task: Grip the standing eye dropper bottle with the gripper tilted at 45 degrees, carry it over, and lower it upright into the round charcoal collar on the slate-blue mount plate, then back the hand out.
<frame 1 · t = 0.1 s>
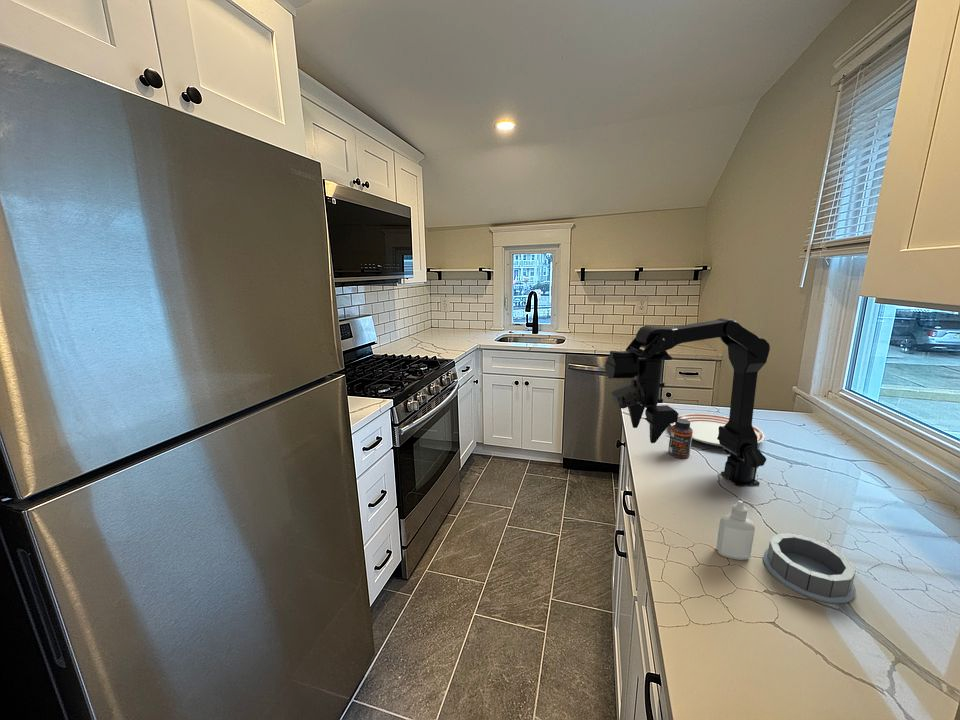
hand: (643, 434, 96), 15 cm above the worktop, tool pointing down, fingers open, 9 cm apart
dinner plate: (713, 436, 128), on the worktop
eye dropper bottle: (732, 554, 75), on the worktop
lens mount collar: (806, 573, 70), on the worktop
supplement bottle: (678, 455, 115), on the worktop
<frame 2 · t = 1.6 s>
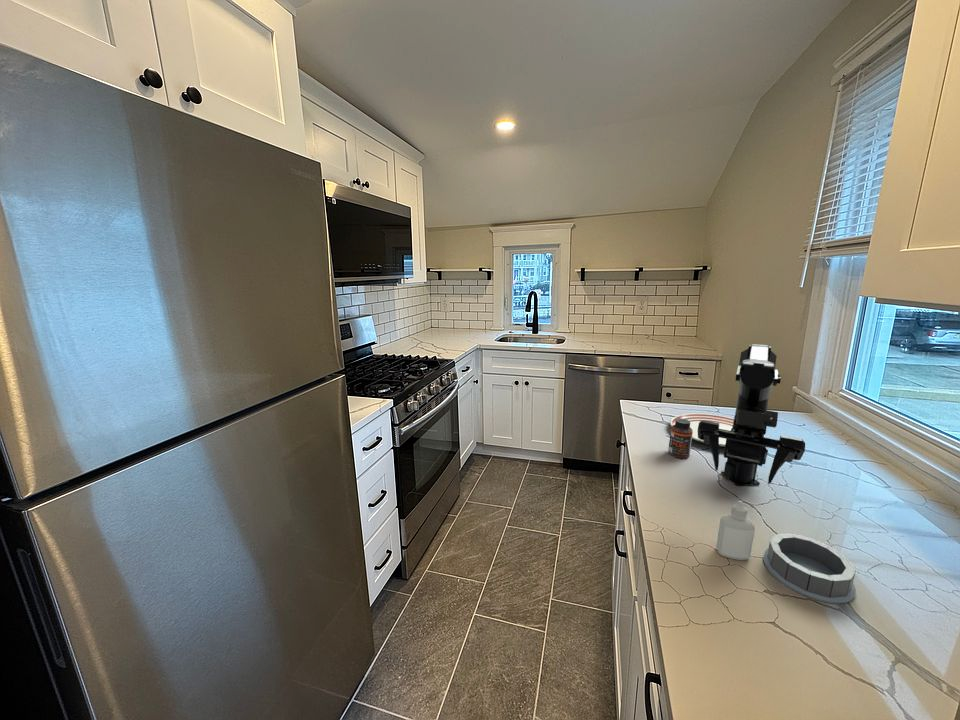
hand: (742, 476, 78), 13 cm above the worktop, tool tilted 45°, fingers open, 9 cm apart
nothing on the worktop moved.
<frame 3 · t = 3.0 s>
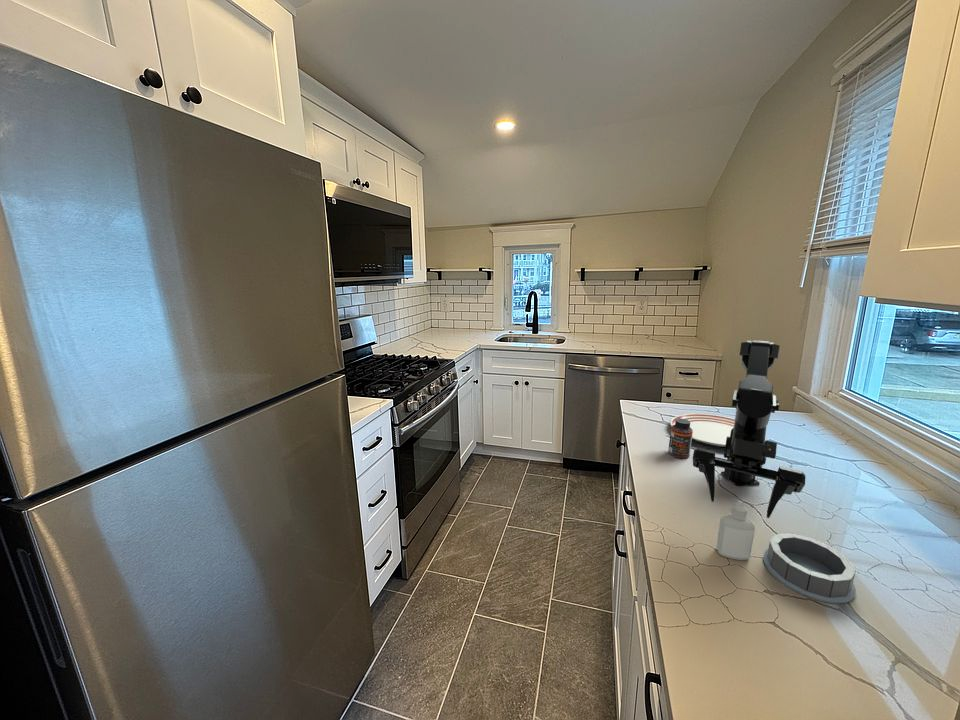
hand: (739, 509, 74), 9 cm above the worktop, tool tilted 45°, fingers open, 9 cm apart
nothing on the worktop moved.
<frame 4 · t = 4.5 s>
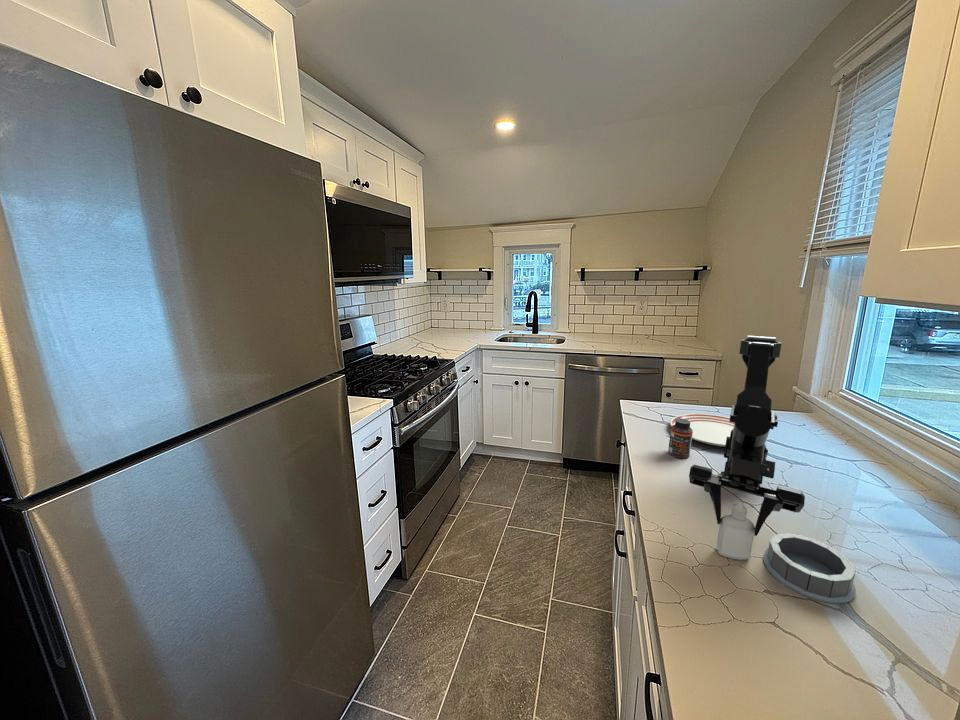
hand: (736, 529, 72), 7 cm above the worktop, tool tilted 45°, fingers closed on eye dropper bottle, 6 cm apart
eye dropper bottle: (732, 554, 75), on the worktop, touching gripper
everything else where it was.
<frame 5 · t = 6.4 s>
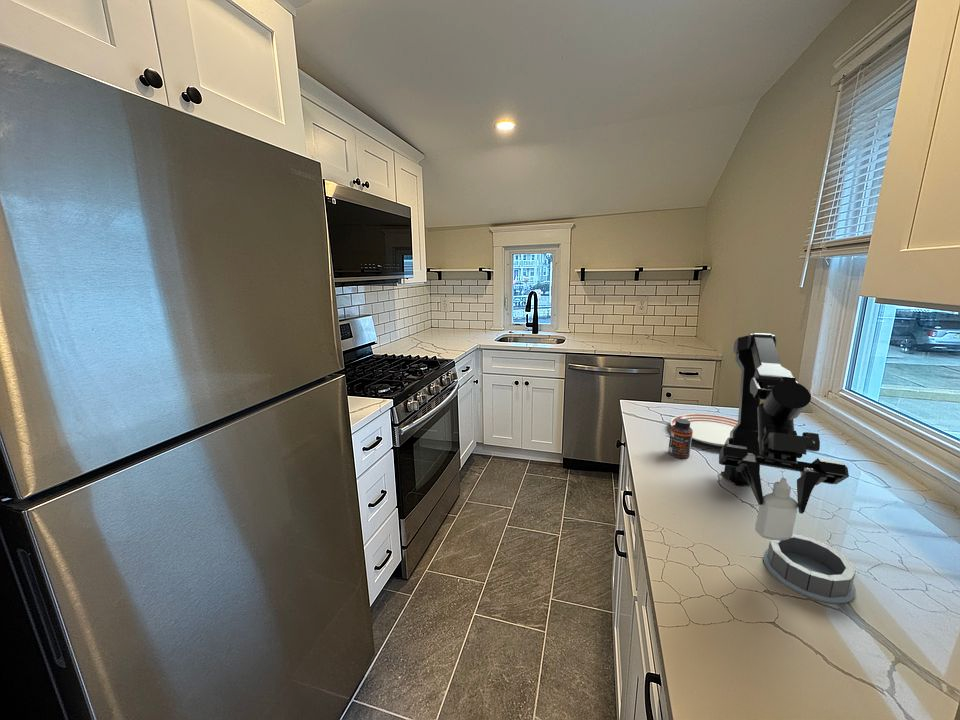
hand: (780, 508, 68), 13 cm above the worktop, tool tilted 45°, fingers closed on eye dropper bottle, 6 cm apart
eye dropper bottle: (772, 535, 71), point 6 cm above the worktop, touching gripper
everything else where it was.
when the fingers open (8 cm above the worktop, at t = 8.6 s): eye dropper bottle stays where it is, resting on lens mount collar.
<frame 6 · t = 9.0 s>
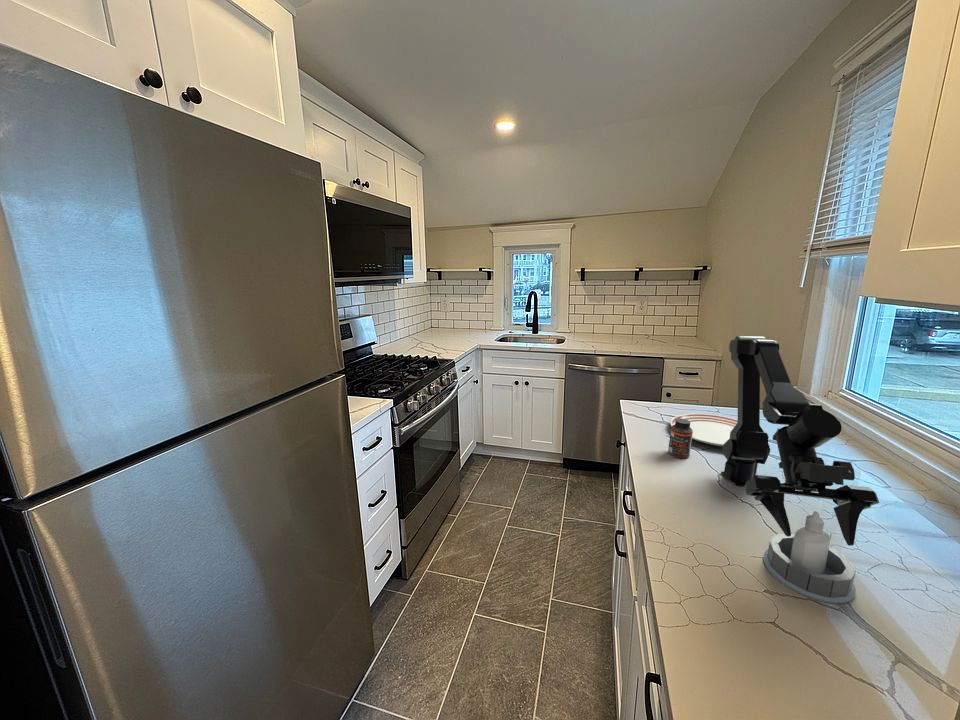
hand: (819, 540, 66), 8 cm above the worktop, tool tilted 45°, fingers open, 9 cm apart
eye dropper bottle: (806, 570, 70), resting on lens mount collar
everything else where it was.
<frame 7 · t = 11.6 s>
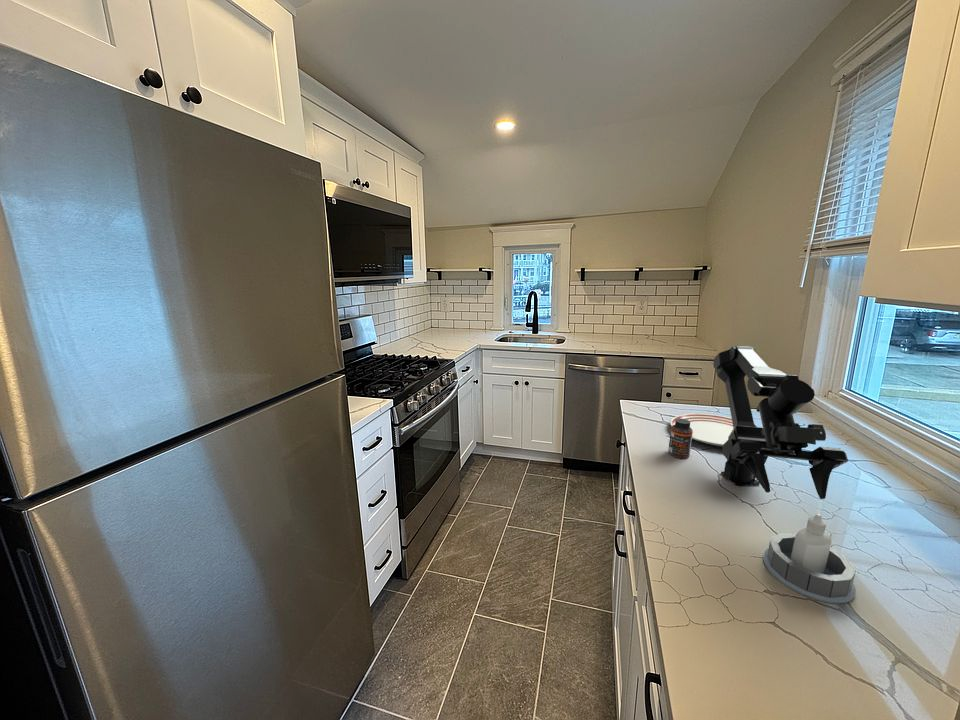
hand: (795, 495, 74), 12 cm above the worktop, tool tilted 45°, fingers open, 9 cm apart
nothing on the worktop moved.
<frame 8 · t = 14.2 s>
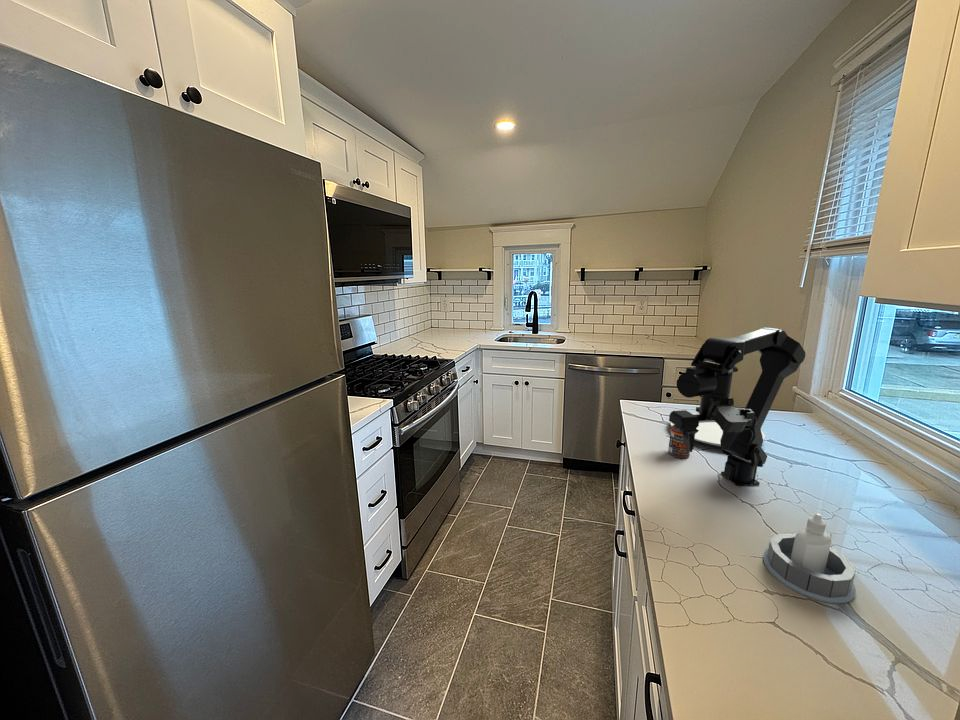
hand: (707, 450, 92), 12 cm above the worktop, tool pointing down, fingers open, 9 cm apart
nothing on the worktop moved.
at the end: eye dropper bottle 0.2 cm off-centre on the lens mount collar, point 0.4 cm above the lens mount collar's base; eye dropper bottle tilted 0°; the gripper is holding nothing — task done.
